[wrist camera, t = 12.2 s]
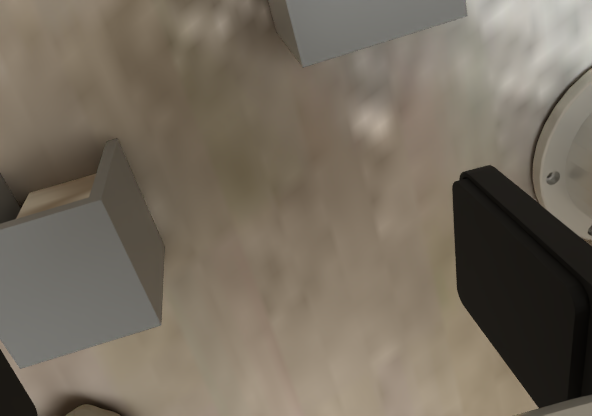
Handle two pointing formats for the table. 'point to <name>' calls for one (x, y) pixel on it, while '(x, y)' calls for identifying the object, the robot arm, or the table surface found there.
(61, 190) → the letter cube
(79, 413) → the ceramic sculpture
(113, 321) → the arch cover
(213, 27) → the table surface
